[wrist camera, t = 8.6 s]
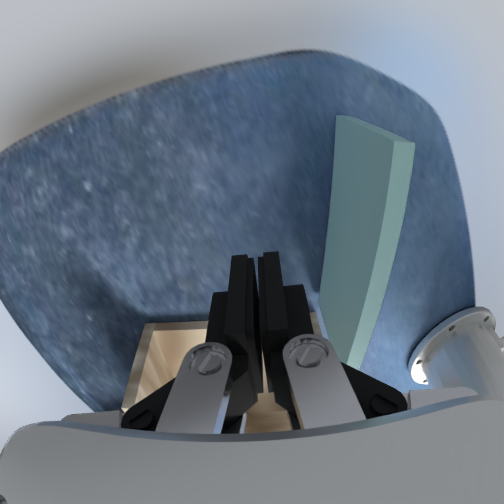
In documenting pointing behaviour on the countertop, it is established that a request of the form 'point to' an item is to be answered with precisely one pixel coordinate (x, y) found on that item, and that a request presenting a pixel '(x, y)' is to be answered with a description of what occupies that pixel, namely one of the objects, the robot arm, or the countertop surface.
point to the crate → (169, 361)
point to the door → (362, 231)
